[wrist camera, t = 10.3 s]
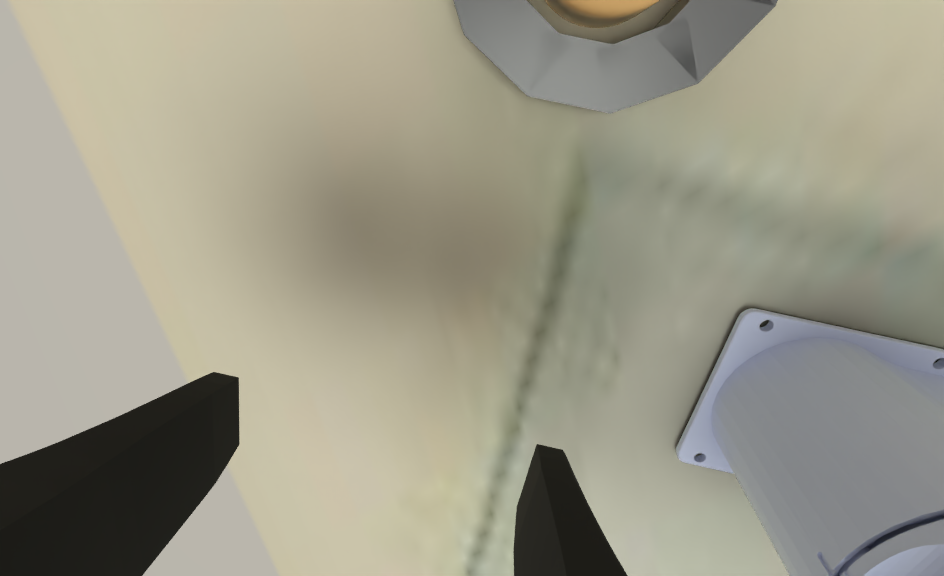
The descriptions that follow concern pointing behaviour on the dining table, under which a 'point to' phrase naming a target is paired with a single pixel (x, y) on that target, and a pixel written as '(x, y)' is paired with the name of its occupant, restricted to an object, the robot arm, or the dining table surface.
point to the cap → (599, 11)
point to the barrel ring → (608, 50)
